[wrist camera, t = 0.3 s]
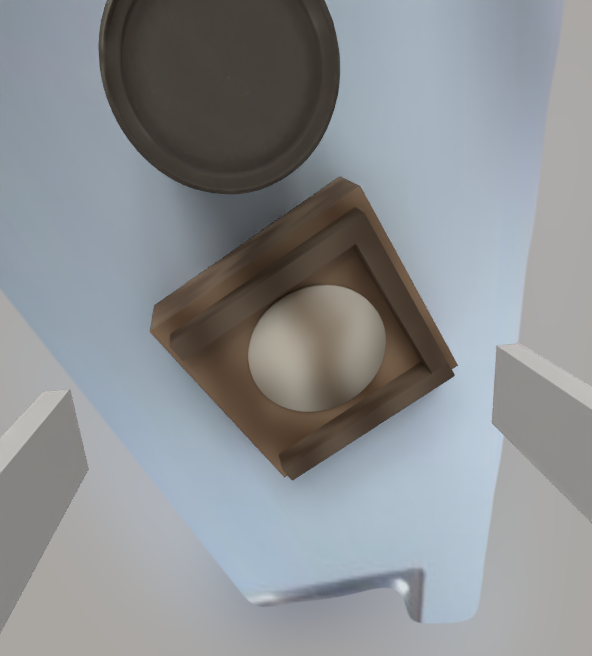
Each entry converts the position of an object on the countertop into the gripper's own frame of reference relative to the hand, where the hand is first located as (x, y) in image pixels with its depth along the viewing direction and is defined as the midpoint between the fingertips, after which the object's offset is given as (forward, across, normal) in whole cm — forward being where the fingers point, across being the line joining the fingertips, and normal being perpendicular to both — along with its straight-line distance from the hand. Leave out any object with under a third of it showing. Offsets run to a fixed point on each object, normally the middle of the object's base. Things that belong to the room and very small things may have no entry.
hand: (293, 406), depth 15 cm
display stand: (+27, +3, -6) cm, 28 cm away
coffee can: (+24, -3, +13) cm, 27 cm away
